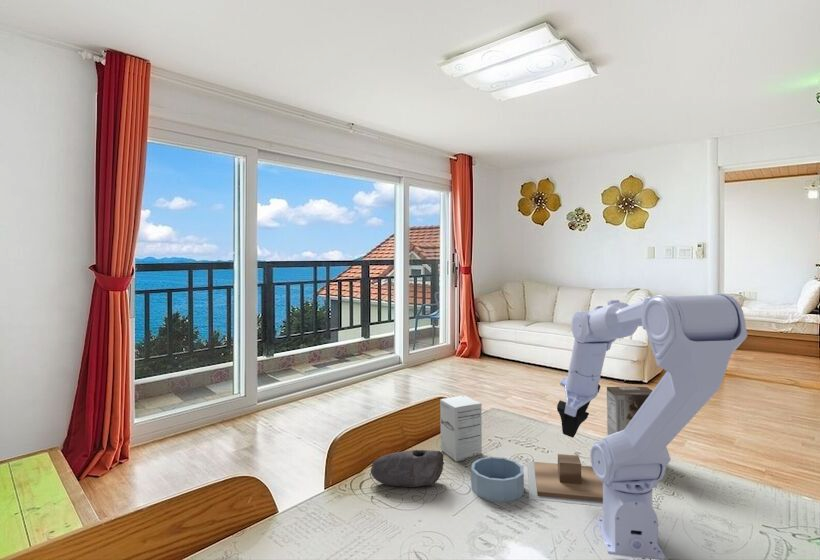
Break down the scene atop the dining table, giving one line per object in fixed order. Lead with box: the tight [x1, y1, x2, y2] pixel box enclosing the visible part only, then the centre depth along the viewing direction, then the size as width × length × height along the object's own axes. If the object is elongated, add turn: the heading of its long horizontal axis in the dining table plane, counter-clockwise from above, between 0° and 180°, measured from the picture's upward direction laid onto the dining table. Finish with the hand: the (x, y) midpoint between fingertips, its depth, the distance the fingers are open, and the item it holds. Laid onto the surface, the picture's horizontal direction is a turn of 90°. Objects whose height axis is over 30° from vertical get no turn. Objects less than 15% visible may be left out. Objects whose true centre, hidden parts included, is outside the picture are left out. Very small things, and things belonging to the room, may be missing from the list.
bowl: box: [470, 456, 525, 503], centre depth 87 cm, size 10×10×4 cm
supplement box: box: [439, 395, 483, 463], centre depth 105 cm, size 7×7×13 cm
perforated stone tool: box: [370, 449, 445, 488], centre depth 90 cm, size 15×5×7 cm, turn 84°
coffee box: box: [606, 386, 653, 436], centre depth 99 cm, size 9×6×16 cm
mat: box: [526, 461, 603, 507], centre depth 89 cm, size 16×16×1 cm
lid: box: [533, 453, 603, 502], centre depth 89 cm, size 13×13×5 cm
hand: (573, 423), depth 90 cm, fingers open, 7 cm apart
